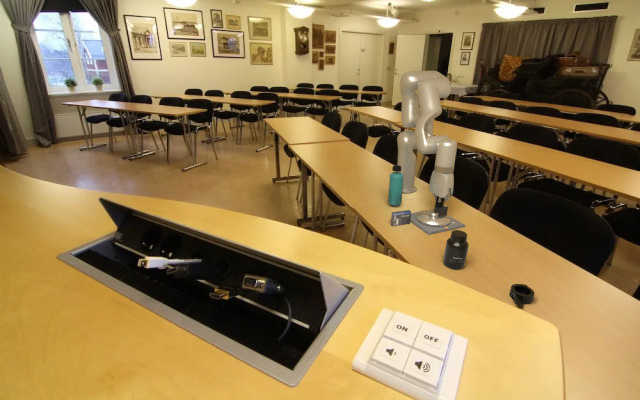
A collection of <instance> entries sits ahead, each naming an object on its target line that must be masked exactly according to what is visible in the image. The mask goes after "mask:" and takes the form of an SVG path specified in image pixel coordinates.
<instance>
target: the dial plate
mask: <svg viewBox="0 0 640 400" xmlns="http://www.w3.org/2000/svg"><path fill="white" fill-rule="evenodd" d="M430 210H434V208H432V209H430ZM418 212H419V211H416V212H411V219H410V224H412V225H414V226H415V227H417V228H418V229H420V231H422V232H424V233H425V234H427V235H428V236H431V235H436V234H440V233H443V232H444V233H445V232H448V231H453V230H459V229H462V228H463V229H464V228H466V224H465V223H463V222H461V221H460V220H458V219H456V218H454V217H452V216H451V215H449V216H450V217H451V222H450V224H449V225H447V226H443V227H433V226H428V225H424V224H422V223H420V222H419V221H418V220H417V219H416V215H417V213H418Z"/></svg>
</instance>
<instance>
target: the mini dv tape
mask: <svg viewBox="0 0 640 400" xmlns="http://www.w3.org/2000/svg"><path fill="white" fill-rule="evenodd" d="M411 213H412V211H411V209H407V210H399V211H392V212H391V220H390V226H391V227H399V226H407V225H410V224H411V222H410V219H411Z"/></svg>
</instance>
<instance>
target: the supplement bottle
mask: <svg viewBox="0 0 640 400" xmlns="http://www.w3.org/2000/svg"><path fill="white" fill-rule="evenodd" d="M467 240H468V234H467V233H466V231H463V230H460V229H454V230H451V232H450V237H449V238H447V239H446V243H445V248H444V255H443V261H442V262H443V263H442V264H443V265H444V266H445V267H447V268H449V269H451V270H462V269H463V268H464V267H465V266H466V261H467V255H468V251H469V245H470V244H469V242H468V241H467Z"/></svg>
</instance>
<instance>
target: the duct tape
mask: <svg viewBox="0 0 640 400" xmlns="http://www.w3.org/2000/svg"><path fill="white" fill-rule="evenodd" d="M509 289H510V290H509V292H508V293H509V294H508V295H509V297H511V298H512V299H513V302H514V303H515V305H517V306H519V307H522V308H524V305H531V304H532V303H533V300H534V297H535V294H536V293H535V291H534V290H533V289H532V288H531V287H530V286H529V285H527V284H525V283H524V284H523V283H514V284H512V285H511V286H510V288H509ZM511 298H510V299H511ZM512 299H511V300H512Z"/></svg>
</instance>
